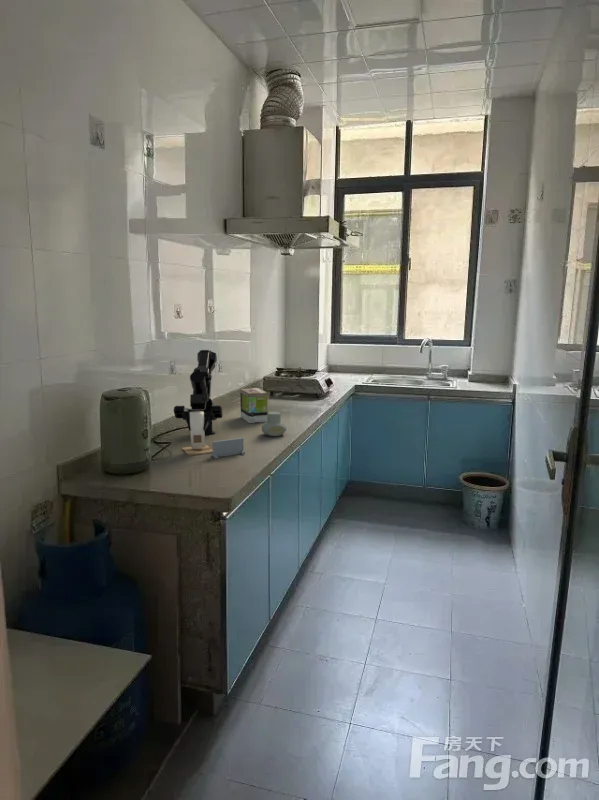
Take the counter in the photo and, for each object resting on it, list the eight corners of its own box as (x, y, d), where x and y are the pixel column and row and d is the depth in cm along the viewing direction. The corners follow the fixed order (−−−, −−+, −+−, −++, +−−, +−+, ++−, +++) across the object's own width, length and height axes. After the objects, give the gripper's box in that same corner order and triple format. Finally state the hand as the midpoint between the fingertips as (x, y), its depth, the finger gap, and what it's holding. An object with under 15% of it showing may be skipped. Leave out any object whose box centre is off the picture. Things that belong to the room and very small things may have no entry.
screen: (211, 455, 206) (211, 440, 205) (241, 451, 212) (241, 436, 210) (215, 458, 203) (214, 443, 202) (244, 454, 208) (244, 439, 207)
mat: (182, 449, 215) (182, 447, 215) (206, 446, 219) (206, 444, 219) (189, 455, 206) (189, 454, 206) (214, 452, 210) (214, 451, 210)
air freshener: (263, 438, 231) (263, 415, 229) (260, 433, 239) (259, 411, 237) (288, 436, 234) (288, 414, 232) (283, 431, 242) (283, 410, 240)
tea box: (268, 422, 260) (268, 392, 257) (248, 423, 257) (247, 393, 254) (259, 415, 274) (258, 387, 271) (240, 417, 270) (239, 388, 267)
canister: (191, 445, 215) (189, 410, 212) (205, 444, 215) (204, 410, 213) (190, 449, 209) (189, 414, 206) (204, 448, 210) (203, 413, 207)
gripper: (173, 385, 211) (169, 419, 202) (221, 385, 212) (219, 419, 203) (177, 401, 220) (174, 434, 212) (223, 400, 221) (221, 433, 213)
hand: (196, 430), depth 210 cm, fingers closed on canister, 5 cm apart
